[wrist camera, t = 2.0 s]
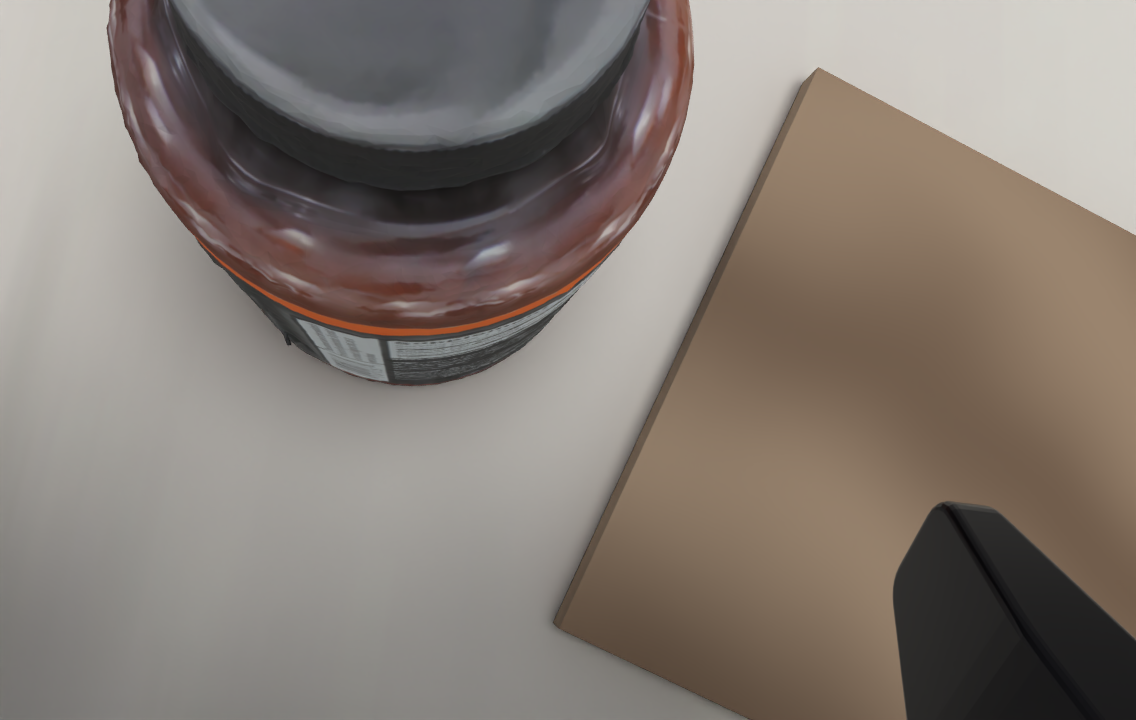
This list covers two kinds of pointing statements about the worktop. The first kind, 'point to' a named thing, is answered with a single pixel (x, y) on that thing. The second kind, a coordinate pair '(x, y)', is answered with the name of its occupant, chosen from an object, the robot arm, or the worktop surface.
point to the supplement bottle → (405, 158)
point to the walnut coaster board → (867, 415)
